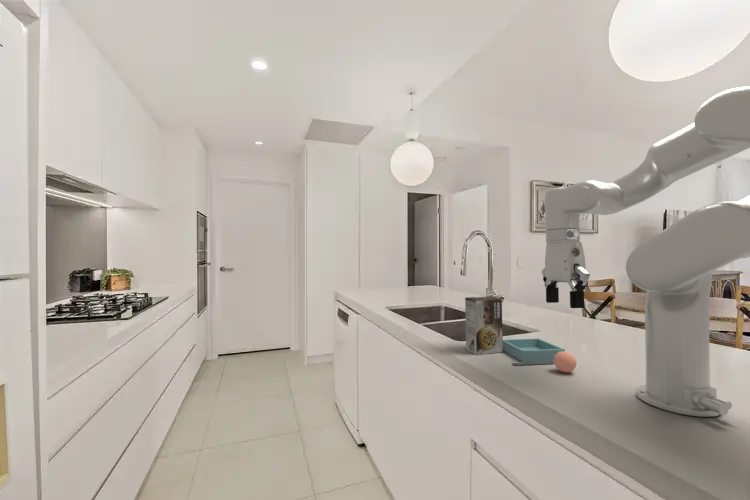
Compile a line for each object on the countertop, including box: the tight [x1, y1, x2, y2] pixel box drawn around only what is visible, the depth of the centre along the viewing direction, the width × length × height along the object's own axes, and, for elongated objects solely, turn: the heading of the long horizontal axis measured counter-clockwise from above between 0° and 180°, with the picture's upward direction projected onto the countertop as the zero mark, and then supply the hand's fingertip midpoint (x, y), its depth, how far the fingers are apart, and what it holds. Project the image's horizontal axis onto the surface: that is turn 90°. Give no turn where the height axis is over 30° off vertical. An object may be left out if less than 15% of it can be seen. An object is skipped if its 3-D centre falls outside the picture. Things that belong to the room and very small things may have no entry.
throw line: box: [511, 361, 554, 367], centre depth 91 cm, size 2×16×1 cm, turn 97°
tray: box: [503, 337, 566, 363], centre depth 99 cm, size 12×12×3 cm
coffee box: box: [464, 295, 504, 356], centre depth 104 cm, size 9×6×16 cm
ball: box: [553, 350, 577, 373], centre depth 85 cm, size 5×5×5 cm
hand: (564, 305), depth 86 cm, fingers open, 9 cm apart
